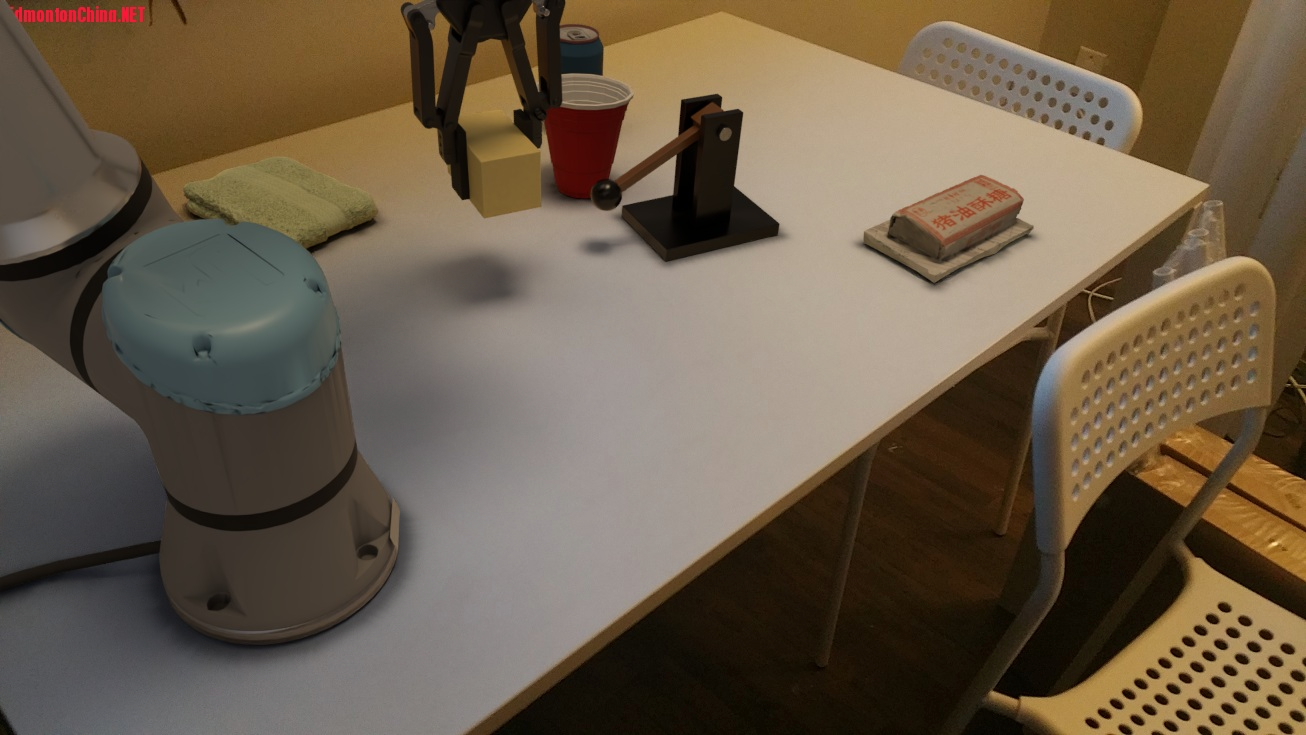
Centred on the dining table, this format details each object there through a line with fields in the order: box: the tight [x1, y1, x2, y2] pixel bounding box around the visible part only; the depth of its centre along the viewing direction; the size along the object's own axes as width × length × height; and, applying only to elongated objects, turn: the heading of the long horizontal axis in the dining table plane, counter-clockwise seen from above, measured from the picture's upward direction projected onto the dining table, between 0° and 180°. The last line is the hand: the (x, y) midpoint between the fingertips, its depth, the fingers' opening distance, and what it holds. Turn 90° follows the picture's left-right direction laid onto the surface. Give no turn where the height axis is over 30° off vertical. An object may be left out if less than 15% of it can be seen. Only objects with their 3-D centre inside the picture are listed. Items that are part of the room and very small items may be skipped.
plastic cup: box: [535, 74, 635, 199], centre depth 109 cm, size 11×11×12 cm
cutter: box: [621, 93, 781, 262], centre depth 103 cm, size 14×10×14 cm
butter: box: [446, 108, 542, 219], centre depth 89 cm, size 6×10×6 cm, turn 28°
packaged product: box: [863, 174, 1035, 284], centre depth 107 cm, size 18×5×10 cm
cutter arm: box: [590, 102, 725, 212], centre depth 99 cm, size 16×3×3 cm, turn 119°
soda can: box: [560, 23, 605, 76], centre depth 122 cm, size 7×7×12 cm
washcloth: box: [182, 156, 379, 250], centre depth 103 cm, size 13×18×3 cm
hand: (493, 186), depth 91 cm, fingers closed on butter, 5 cm apart
